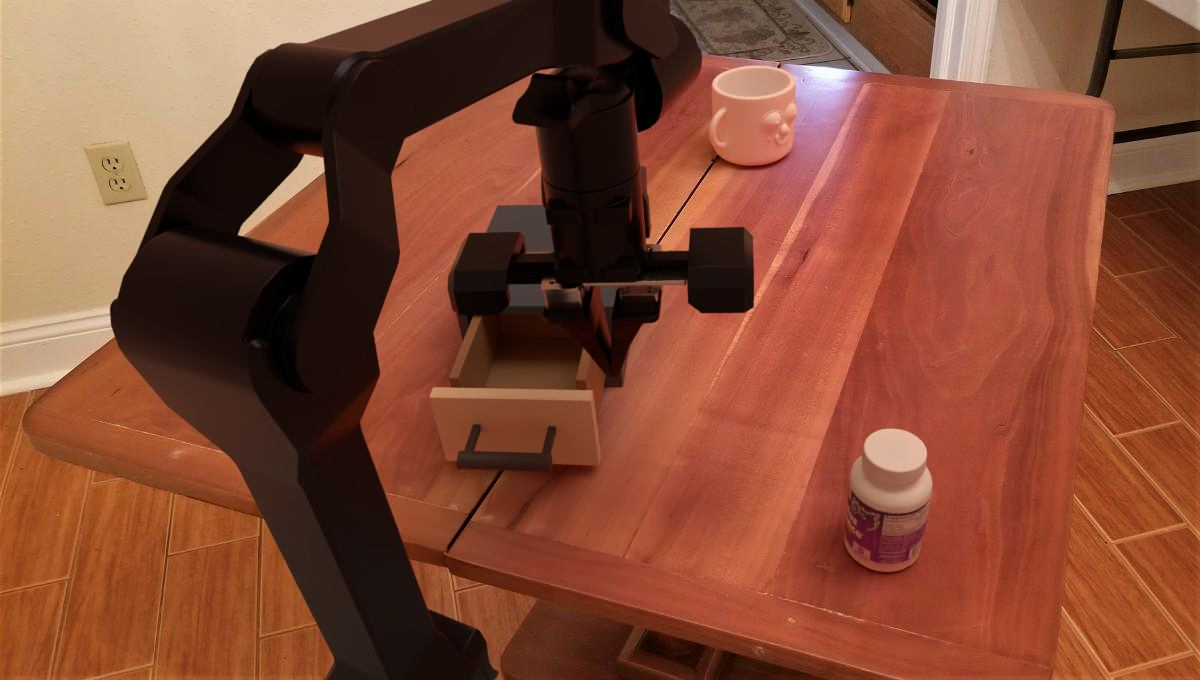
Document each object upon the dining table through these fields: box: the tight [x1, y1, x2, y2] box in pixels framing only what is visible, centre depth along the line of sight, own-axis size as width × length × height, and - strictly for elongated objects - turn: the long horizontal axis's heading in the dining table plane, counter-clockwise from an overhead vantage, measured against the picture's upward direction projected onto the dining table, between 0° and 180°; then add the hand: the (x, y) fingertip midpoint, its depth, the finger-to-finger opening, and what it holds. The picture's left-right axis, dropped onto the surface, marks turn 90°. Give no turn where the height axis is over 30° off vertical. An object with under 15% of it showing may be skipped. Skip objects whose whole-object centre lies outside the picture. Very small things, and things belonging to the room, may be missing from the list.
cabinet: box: [455, 204, 631, 387], centre depth 88 cm, size 17×14×9 cm
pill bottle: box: [843, 428, 933, 573], centre depth 64 cm, size 5×5×10 cm
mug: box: [708, 65, 799, 166], centre depth 111 cm, size 12×10×9 cm
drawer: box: [428, 314, 606, 473], centre depth 77 cm, size 20×13×7 cm, turn 172°
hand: (613, 373), depth 64 cm, fingers closed
